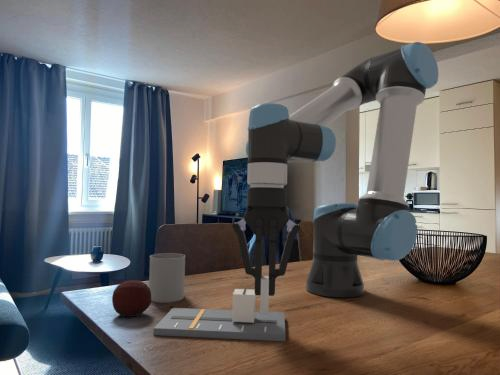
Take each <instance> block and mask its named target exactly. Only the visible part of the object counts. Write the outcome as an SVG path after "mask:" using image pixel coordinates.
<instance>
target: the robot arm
mask: <svg viewBox="0 0 500 375" xmlns="http://www.w3.org/2000/svg"><path fill="white" fill-rule="evenodd" d="M438 78H439V66H438V63H437V59H436V57H435V55H434V53H433V52H432V49H430V48H429V46H428V45H427V44H425V43H424V42H420V41H414V42H411V43H409V44H403V45H401V47H397V48H395V49H391V50H389V51H386V52H384V53H381V54H377V55H375V56H372V57H369V58H367V59H364V60H363V61H361V62H360V63H358V64H357V65H355V66H354V67H352V68H351V69H349V70H348V71H347V72H345V73H344V74H343V75H341V76H340V77H338V78H337V79H335V80H334V82H333V83H332V86H331V87H330V88H328V89H327V90H325V91H324V92H322V93H320V95H318V96H316V97H315V98H313V99H312V100H310V101H309V102H307V103H306V104H304V105H302V107H300V108H298V109H296V111H294V112H293V113H291V114H290V115H289V108H288V107H287V106H285V105H284V104H281V103H275V102H274V103H273V102H267V103H260V104H255V105H254V106H253V107H251V109H250V111H249V117H248V126H247V127H248V128H247V131H248V134H247V135H248V137H247V138H248V140H247V142H246V144H245V153H246V156H247V181H246V182H247V184H248V185H249V186H250V187H248V188H247V190H246V192H247V193H246V194H247V195H246V210H245V211H246V212H244V215H243V218H242V219H240V220H239V221H237V222H234V223H233V224H232V226H231V227H232V230H233V231H234V232H235V234H236V236H237V239H238V245H239V249H240V253H241V258H242V262H243V268H244V272H245V274H246V275H249V276H251V277H253V278H254V290H255V295H256V296H260V302H259V303H260V305H259V306H260V308H259V310H260V311H259V312H260V315H268V312H269V305H270V303H269V302H270V301H269V299H270V298H269V296H271V297H274V296H275V294H276V279H277V278H279V277H283V276H285V273H286V271H287V267H288V263H289V260H290V256H291V253H292V248H293V246H294V241H295V237H296V236H297V234H298V233H299V232H300V230H301V226H300V225H299V224H298V223H295V222H294V221H292V220H291V219H290V215H289V214H288V212H287V211H288V210H287V204H288V202H287V201H288V190H287V189H286V188H285V186H286V185H288V163H292V162H293V163H294V162H303V161H311V162H312V163H313V162H325V161H328V160H329V159H330V158H331V157H332V156H333V154H334V153H335V149H336V146H337V145H336V143H337V142H336V141H337V139H336V134H335V133H334V132H333V130H332V129H331V128H329V127H327V126H328V125H329V124H331V123H333V122H334V121H335V120H336V119H338V118H339V117H341V115H343V114H344V113H346V112H347V111H354V110H356V109H357V108H359V107H360V106H362V105H365V104H368V103H372V102H375V101H377V102H378V103H379V104H380V105H379V110H378V118H377V123H376V130H375V137H374V141H373V142H374V143H373V149H372V156H371V161H370V169H369V173H368V174H369V175H368V181H367V186H366V192H365V193H364V194H363V195H362V196H360V197H359V198H358V202H357V203H355V202H343V203H329V204H323V205H318V206H317V207H315V209H314V211H313V219H312V244H313V245H312V254H313V255H312V263H311V265H310V268H309V271H308V274H307V277H306V281H305V289H306V291H307V292H309V293H312V294H315V295H318V296H322V297H331V298H355V297H361V296H363V295H364V294H365V283H364V280H363V277H362V274H361V271H360V267H359V265H358V264H359V263H358V256H359V257H366V258H372V259H376V260H379V261H393V262H395V261H400V260H402V259H404V258H406V256H407V255H409V253H410V252H412V249H413V248H414V246H415V243H416V240H417V237H418V225H417V219H416V217H415V215H414V214H413V213H412V212H411V211H410V205H409V203H408V202H407V201H406V200H405V191H406V189H405V188H406V184H407V182H406V181H407V177H408V171H409V170H408V169H409V163H410V162H409V161H410V156H411V148H412V142H413V135H414V129H415V128H414V127H415V121H416V114H417V107H418V106H419V105H420V104H422V103H424V101H425V97H426V91H427V89H428V90H429V89H432V88H433V87H434V86H435V85H436V84H437V83H438V81H439V79H438ZM246 225H247V226H248V228H249V229H250V231H251V232H252V234H253V235H255V246H254V247H255V250H254V251H255V252H254V253H255V254H254V257H255V258H254V267H253V264H252V260H251V255H250V252H249V247H248V242H247V237H246V234H245V231H246V229H247V228H246ZM285 226H287V228H286V232H288V234H287V236H286V240H285V244H284V246H283V251H282V254H281V258H280V263H279V266H278V267H277V268H276V263H277V262H276V258H277V256H276V254H277V252H276V251H277V236H278V235H279V234H280V233H281V231H282V230H283V229H284V228H285ZM265 236H267V237H269V242H268V243H269V245H268V246H269V248H268V249H269V250H268V276H266V275H265V276H264V275H262V271H263V240H264V239H263V237H265Z"/></svg>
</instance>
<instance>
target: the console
mask: <svg viewBox="0 0 500 375" xmlns="http://www.w3.org/2000/svg"><path fill="white" fill-rule="evenodd" d="M285 321H286V320H285V312H281V311H280V312H278V311H277V312H276V311H268V315H260V311H256V310H255V319H254V323H252V322H232V309H211V308H209V309H207V308H206V309H205V308H186V307H172V308H171V309H170V310H169V312H167V314H165V315H164V316H163V318H162V319H161V320H160V321H159V322H158V323H157V324H156V325H155V326H154V327H153V336H165V337H166V336H167V337H183V338H184V337H187V338H208V339H225V340H226V339H230V340H247V341H249V340H250V341H265V342H266V341H268V342H286V336H287V335H286V322H285Z"/></svg>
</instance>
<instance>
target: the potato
mask: <svg viewBox="0 0 500 375" xmlns="http://www.w3.org/2000/svg"><path fill="white" fill-rule="evenodd" d="M111 299H112V301H111V302H112V306H113V309H114V311H115V312H116V314H118V315H120V316H122V317H133V316H134V317H135V316H139V315H141V314H142V313H144V312H146V310H148V308H149V307H150V306H151V303H152V301H151V291H150V288H149V285H147V284H146V283H145V282H143V281H141V280H135V279H133V280H126V281H123V282H121V283H119V284H118V285H117V286H116V287H115V289H114V290H113V292H112V297H111Z"/></svg>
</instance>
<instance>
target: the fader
mask: <svg viewBox="0 0 500 375" xmlns="http://www.w3.org/2000/svg"><path fill="white" fill-rule="evenodd" d="M256 296H257V295H255V289H252V288H251V289H250V288H245V287H244V288H235V289H234V290H233V293H232V308H231V310H232V322H252V323H254V319H255V311H256V299H257V298H256Z"/></svg>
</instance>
